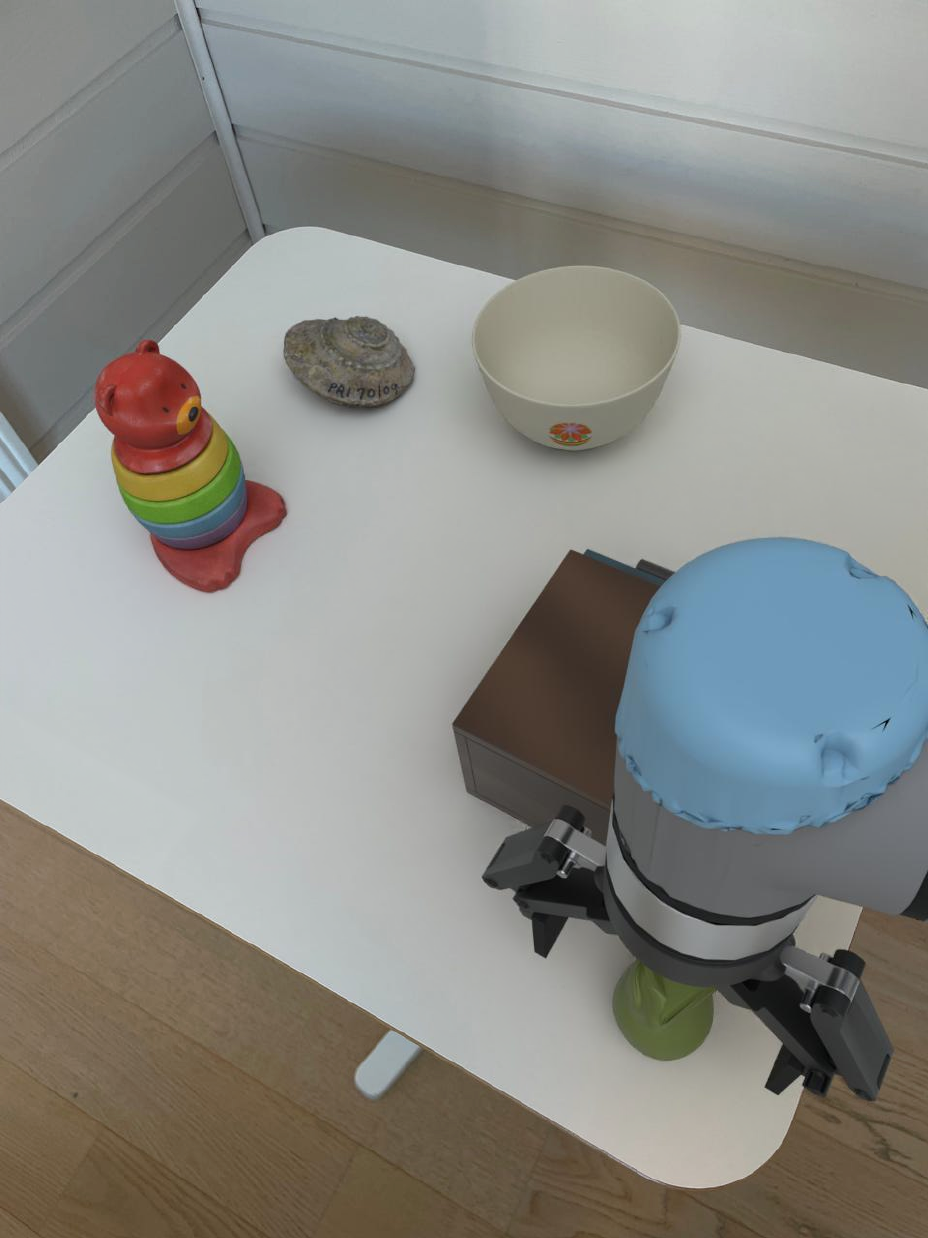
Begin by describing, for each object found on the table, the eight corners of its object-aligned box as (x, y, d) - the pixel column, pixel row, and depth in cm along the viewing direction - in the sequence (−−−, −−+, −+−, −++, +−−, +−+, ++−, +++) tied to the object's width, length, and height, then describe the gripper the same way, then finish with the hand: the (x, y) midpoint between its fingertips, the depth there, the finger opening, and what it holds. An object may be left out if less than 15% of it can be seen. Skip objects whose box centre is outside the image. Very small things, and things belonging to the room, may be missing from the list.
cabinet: (571, 629, 74) (570, 548, 66) (734, 703, 70) (755, 625, 61) (466, 792, 68) (451, 723, 60) (639, 884, 63) (648, 824, 55)
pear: (669, 953, 61) (683, 899, 52) (728, 1031, 58) (753, 987, 50) (594, 1007, 59) (597, 960, 51) (651, 1089, 57) (663, 1054, 48)
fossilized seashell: (360, 427, 85) (333, 349, 81) (279, 419, 92) (250, 347, 88) (436, 371, 91) (414, 296, 87) (355, 367, 98) (331, 298, 94)
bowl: (698, 387, 87) (711, 291, 78) (627, 519, 79) (632, 429, 71) (530, 341, 92) (526, 247, 84) (449, 461, 85) (435, 371, 76)
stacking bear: (219, 601, 79) (137, 441, 64) (122, 557, 82) (23, 396, 67) (297, 505, 83) (237, 335, 69) (202, 467, 87) (126, 298, 72)
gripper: (1094, 944, 34) (914, 1060, 52) (473, 646, 43) (499, 833, 61) (1033, 1155, 31) (863, 1203, 49) (375, 787, 40) (432, 941, 57)
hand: (661, 998), depth 55 cm, fingers open, 13 cm apart
